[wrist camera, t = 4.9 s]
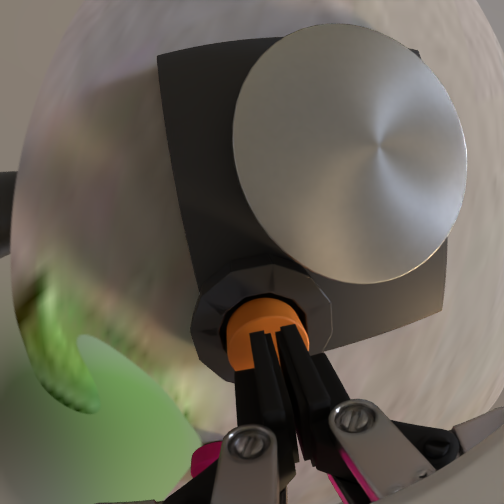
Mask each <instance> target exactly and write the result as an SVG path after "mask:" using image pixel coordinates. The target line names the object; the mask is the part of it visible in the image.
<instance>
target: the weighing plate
mask: <svg viewBox="0 0 504 504" xmlns="http://www.w3.org/2000/svg"><path fill="white" fill-rule="evenodd" d="M232 153H233V162H234V167H235V171H236V175H237V179H238V183H239V185H240V188H241V190H242V193H243V195H244V198H245V201H246V203H247V204H248V206H249V208H250V210H251V212H252V213H253V215H254V217H255V219H256V220H257V221H258V223H259V224H260V225H261V227H262V228H263V230H264V231H265V232H266V234H267V235H268V236H269V237H270V238H271V240H272V241H273V242H274V243H275V244H276V245H277V246H278V247H279V248H280V249H281V250H282V251H283V252H284V253H285V254H287V255H288V256H289V257H291V258H292V259H293V260H294V261H296V262H297V263H298V264H300V265H302V266H303V267H305V268H307V269H308V270H310V271H312V272H313V273H316V274H318V275H321V276H323V277H326V278H328V279H331V280H335V281H339V282H343V283H352V284H374V283H380V282H385V281H389V280H392V279H395V278H398V277H400V276H403V275H405V274H407V273H409V272H410V271H412V270H414V269H416V268H417V267H418V266H420V265H421V264H422V263H424V262H425V261H426V260H427V259H428V258H430V257H431V256H432V255H433V254H434V253H435V252H436V251H437V249H438V248H439V247H440V246H441V244H442V243H443V242H444V241H445V239H446V237H447V236H448V234H449V233H450V231H451V229H452V227H453V225H454V223H455V221H456V219H457V217H458V214H459V211H460V208H461V205H462V202H463V197H464V193H465V187H466V179H467V154H466V145H465V140H464V134H463V130H462V127H461V123H460V120H459V117H458V115H457V112H456V110H455V107H454V105H453V103H452V101H451V99H450V97H449V95H448V93H447V91H446V90H445V88H444V87H443V85H442V84H441V82H440V81H439V79H438V78H437V77H436V75H435V74H434V73H433V72H432V71H431V69H430V68H429V67H428V66H427V65H426V64H425V63H424V62H423V61H422V60H421V59H420V58H419V57H418V56H417V55H416V54H414V53H413V52H412V51H410V50H409V49H408V48H407V47H405V46H404V45H402V44H401V43H399V42H397V41H396V40H394V39H392V38H390V37H388V36H386V35H384V34H382V33H380V32H377V31H374V30H371V29H368V28H365V27H361V26H356V25H350V24H333V23H332V24H322V25H315V26H311V27H307V28H303V29H300V30H298V31H296V32H293V33H291V34H289V35H287V36H285V37H284V38H282V39H281V40H279V41H277V42H276V43H274V44H273V45H272V46H271V47H270V48H269V49H268V50H266V51H265V52H264V53H263V54H262V55H261V56H260V58H259V59H258V60H257V61H256V63H255V64H254V65H253V67H252V68H251V69H250V71H249V73H248V75H247V77H246V79H245V80H244V82H243V84H242V87H241V90H240V92H239V95H238V98H237V101H236V106H235V111H234V117H233V123H232Z"/></svg>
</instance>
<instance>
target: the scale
mask: <svg viewBox="0 0 504 504" xmlns="http://www.w3.org/2000/svg"><path fill="white" fill-rule="evenodd" d="M282 38H284V37H274V38H258V39H247V40H237V41H229V42H222V43H215V44H209V45H203V46H198V47H193V48H188V49H183V50H178V51H174V52H170V53H166V54H162V55H158V56H157V65H158V74H159V83H160V91H161V99H162V106H163V113H164V120H165V127H166V133H167V140H168V146H169V152H170V158H171V163H172V169H173V174H174V180H175V185H176V190H177V195H178V201H179V205H180V210H181V215H182V220H183V225H184V229H185V234H186V238H187V243H188V247H189V251H190V256H191V260H192V264H193V268H194V272H195V276H196V281H197V284H198V288H199V292H200V294H199V297H198V300H197V303H196V306H195V310H194V313H193V317H192V322H191V327H190V333H191V336H192V339H193V342H194V345H195V348H196V351H197V354H198V357H199V360H201V362H202V363H204V364H205V365H206V366H207V367H209V368H210V369H211V370H212V371H213V372H215V373H216V374H217V375H218V376H220V377H221V378H222V379H223V380H225V381H227V382H232V383H235V380H234V372H235V370H234V369H233V367H232V366H231V364H230V362H229V360H228V355H227V325H228V321H229V319H230V317H231V316H232V314H233V313H234V312H235V311H236V310H237V309H238V308H239V307H240V306H241V305H243V304H244V303H246V302H248V301H251V300H254V299H258V298H274V299H278V300H281V301H283V302H285V303H287V304H288V305H290V306H291V307H292V308H293V309H294V311H295V312H296V314H297V316H298V318H299V320H300V321H301V323H302V325H303V327H304V329H305V331H306V333H307V335H308V338H309V351H308V352H309V354H310V356H311V355H315V354H319V353H322V352H324V351H328V350H331V349H335V348H338V347H342V346H345V345H348V344H352V343H355V342H358V341H361V340H365V339H368V338H371V337H374V336H377V335H380V334H383V333H386V332H388V331H391V330H394V329H397V328H400V327H402V326H405V325H408V324H410V323H413V322H415V321H418V320H421V319H423V318H426V317H428V316H430V315H433V314H435V313H438V312H440V311H442V306H443V298H444V289H445V278H446V264H447V237H446V239H445V241H444V242H443V243H442V244H441V246H440V247H439V248H438V249H437V251H436V252H435V253H434V254H433V255H432V256H431V257H430V258H428V259H427V260H426V261H425V262H424V263H422V264H421V265H420V266H418V267H417V268H416V269H414V270H412V271H410V272H409V273H407V274H405V275H403V276H400V277H398V278H395V279H392V280H389V281H385V282H380V283H374V284H352V283H343V282H339V281H335V280H331V279H328V278H326V277H323V276H321V275H318V274H316V273H313V272H312V271H310V270H308V269H307V268H305V267H303V266H302V265H300V264H298V263H297V262H296V261H294V260H293V259H292V258H291V257H289V256H288V255H287V254H285V253H284V252H283V251H282V250H281V249H280V248H279V247H278V246H277V245H276V244H275V243H274V242H273V241H272V240H271V238H270V237H269V236H268V235H267V234H266V232H265V231H264V230H263V228H262V227H261V225H260V224H259V223H258V221H257V220H256V219H255V217H254V215H253V213H252V212H251V210H250V208H249V206H248V204H247V203H246V201H245V198H244V195H243V193H242V190H241V188H240V185H239V183H238V179H237V175H236V171H235V167H234V162H233V153H232V123H233V117H234V111H235V106H236V101H237V98H238V95H239V92H240V90H241V87H242V84H243V82H244V80H245V79H246V77H247V75H248V73H249V71H250V69H251V68H252V67H253V65H254V64H255V63H256V61H257V60H258V59H259V58H260V56H261V55H262V54H263V53H264V52H265V51H266V50H268V49H269V48H270V47H271V46H272V45H273V44H274V43H276V42H277V41H279V40H281V39H282ZM408 49H409V48H408ZM409 50H410V51H412V52H413V53H414V54H416V55H417V56H418V57H419V58H420V59H421V57H420V54H419V51H418V50H413V49H409Z"/></svg>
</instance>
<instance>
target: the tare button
mask: <svg viewBox="0 0 504 504" xmlns="http://www.w3.org/2000/svg"><path fill="white" fill-rule="evenodd" d="M291 324H296V326H297V329H298V331H299V333H300V335H301V337H302V339H303V341H304V343H305V345H306V348H307V350H308V351H309V338H308V335H307V333H306V331H305V329H304V327H303V325H302V323H301V321H300V320H299V318H298V316H297V314H296V312H295V311H294V309H293V308H292V307H291V306H290V305H288V304H287V303H285V302H283V301H281V300H278V299H274V298H258V299H254V300H251V301H248V302H246V303H244V304H243V305H241V306H240V307H239V308H238V309H237V310H236V311H235V312H234V313H233V314H232V316H231V317H230V319H229V321H228V325H227V355H228V360H229V362H230V364H231V366H232V367H233V369H234V370H235V371H240V370H245V369H251V368H254V361H253V355H252V349H251V343H250V336H249V333H252V332H257V331H262V330H264V333H265V334H267V333H271V336H272V339H273V343H274V346H275V350H276V353H277V357H278V360H279V354H278V348H277V342H276V336H275V332H277V331H280V327H282V326H286V325H291ZM279 363H280V361H279Z"/></svg>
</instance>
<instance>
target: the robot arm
mask: <svg viewBox="0 0 504 504" xmlns="http://www.w3.org/2000/svg"><path fill="white" fill-rule="evenodd" d="M249 336H250V343H251V349H252V355H253V361H254V368H251V369H245V370H240V371H235V372H234V380H235V396H236V411H237V425H238V427H236V428H234V429H232V430H231V431H229V432H228V433H227V434H226V436H225V437H224V438H223V441H222V444H221V449H220V454H219V458H218V459H217V460H215V461H214V462H213V463H212V464H211V465H209V466H208V467H207V468H206V469H205V470H203V471H202V472H201V473H200V474H198V475H197V476H196V477H194V478H193V479H192V480H191V481H189V482H188V483H187V484H185V485H184V486H183V487H181V488H180V489H179V490H177V491H176V492H174V493H173V494H172V495H170V496H169V497H168V498H167V499H166V500H165V501H159V502H156V501H155V500H145V501H134V502H117V503H96V504H288V496H287V484H288V483H289V482H290V481H291V480H292V479H293V478H294V476H295V475H296V470H295V463H297V462H299V454H298V446H297V438H296V433H297V437H298V440H299V444H300V447H301V451H302V454H303V458H304V460H305V461H306V460H311V463H312V466H313V467H315V466H316V469H317V470H319V471H322V472H325V473H327V475H328V478H329V480H330V481H331V483H332V485H333V486H334V488H335V490H336V492H337V493H338V495H339V497H340V498H341V500H342V502H343V503H344V504H504V407H499V408H495V409H493V410H491V411H489V412H487V413H485V414H482V415H480V416H478V417H476V418H473V419H471V420H468V421H466V422H463V423H461V424H458V425H455V426H453V428H452V430H449V431H447V430H443V429H438V428H431V427H425V426H419V425H413V424H408V423H403V422H398V421H393V420H390V419H389V418H388V417H387V416H386V415H385V414H384V413H383V412H382V411H381V410H380V409H379V407H378V406H376V405H375V404H374V403H373V402H370V401H368V400H363V399H351V400H350V398H349V396H348V394H347V392H346V390H345V389H344V387H343V385H342V383H341V381H340V379H339V378H338V376H337V374H336V372H335V370H334V369H333V367H332V365H331V363H330V361H329V360H328V358H327V356H326V354H325V353H319V354H315V355H311V356H310V354H309V352H308V350H307V348H306V345H305V343H304V341H303V339H302V337H301V335H300V333H299V331H298V329H297V326H296V324H291V325H286V326H282V327H280V331H277V332H275V336H276V342H277V348H278V354H279V360H278V357H277V353H276V350H275V346H274V343H273V339H272V336H271V333H267V334H265V333H264V330H262V331H257V332H252V333H249ZM279 361H280V363H279Z"/></svg>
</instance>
